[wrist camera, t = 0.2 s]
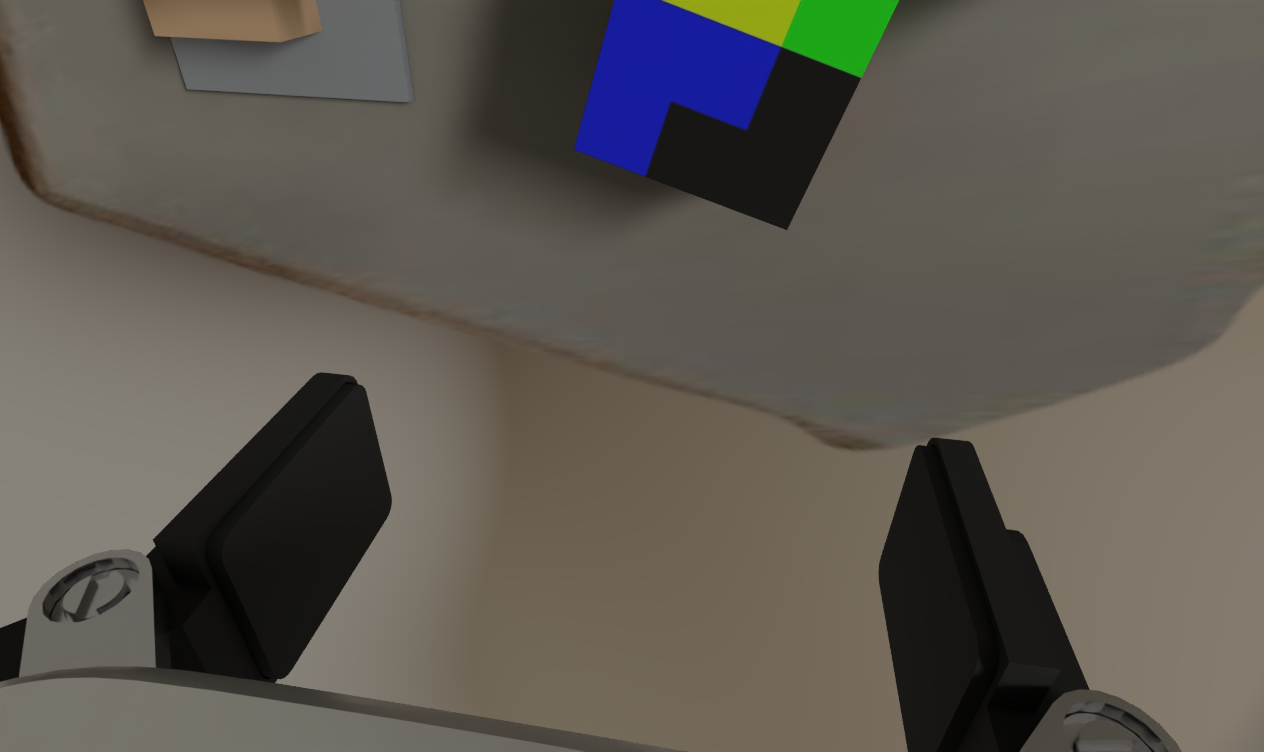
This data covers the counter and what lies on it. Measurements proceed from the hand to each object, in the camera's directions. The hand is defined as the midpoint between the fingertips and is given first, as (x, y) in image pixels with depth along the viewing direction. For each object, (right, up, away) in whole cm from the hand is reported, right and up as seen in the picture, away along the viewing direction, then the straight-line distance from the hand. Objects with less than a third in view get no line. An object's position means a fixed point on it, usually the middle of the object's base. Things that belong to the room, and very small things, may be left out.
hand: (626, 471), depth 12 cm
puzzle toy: (+5, +19, +24) cm, 31 cm away
